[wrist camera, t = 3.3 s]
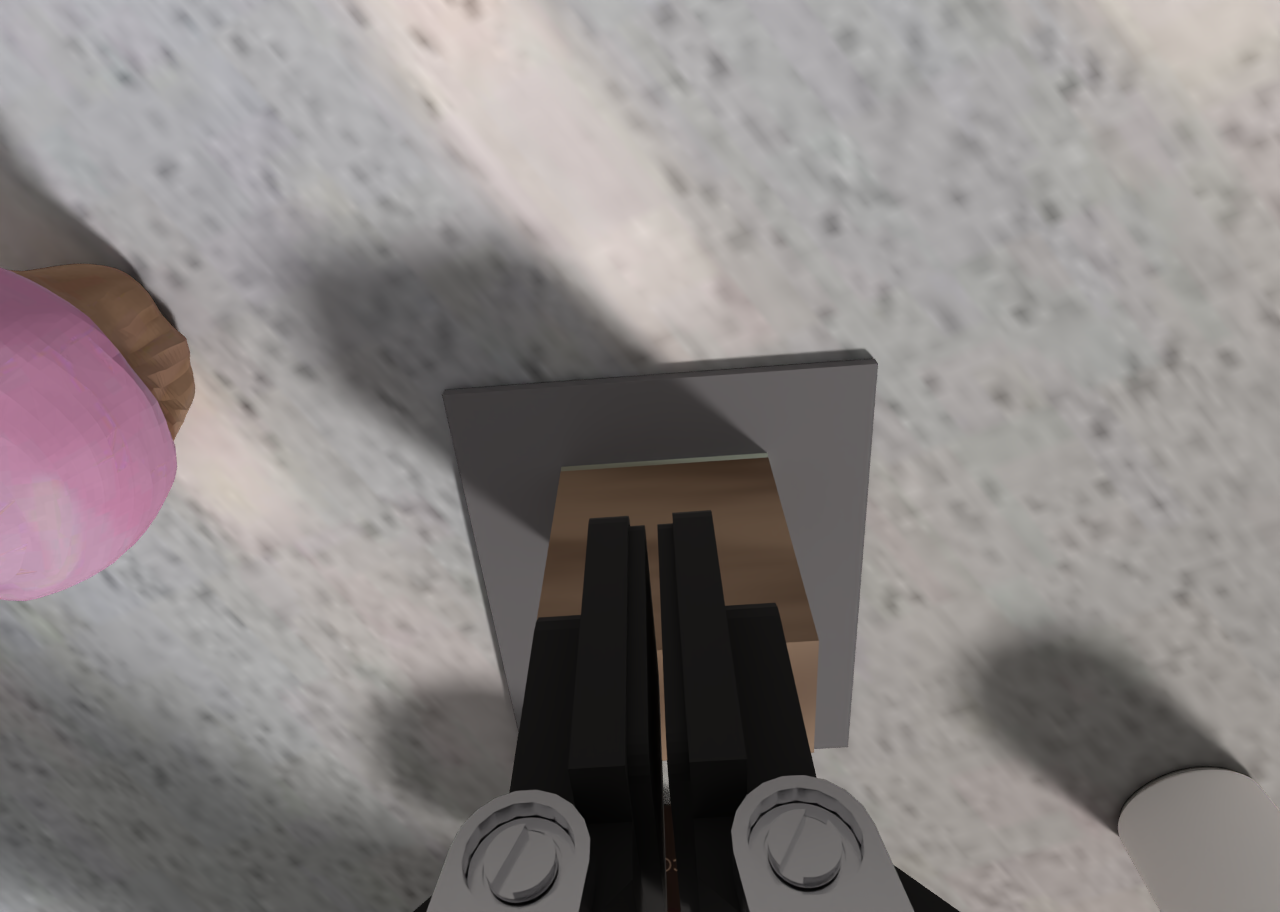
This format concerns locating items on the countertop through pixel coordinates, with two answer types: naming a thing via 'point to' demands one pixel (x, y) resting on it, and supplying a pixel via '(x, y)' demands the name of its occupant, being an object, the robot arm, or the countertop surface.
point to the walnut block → (744, 538)
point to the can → (1205, 841)
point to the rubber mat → (676, 429)
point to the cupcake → (82, 422)
